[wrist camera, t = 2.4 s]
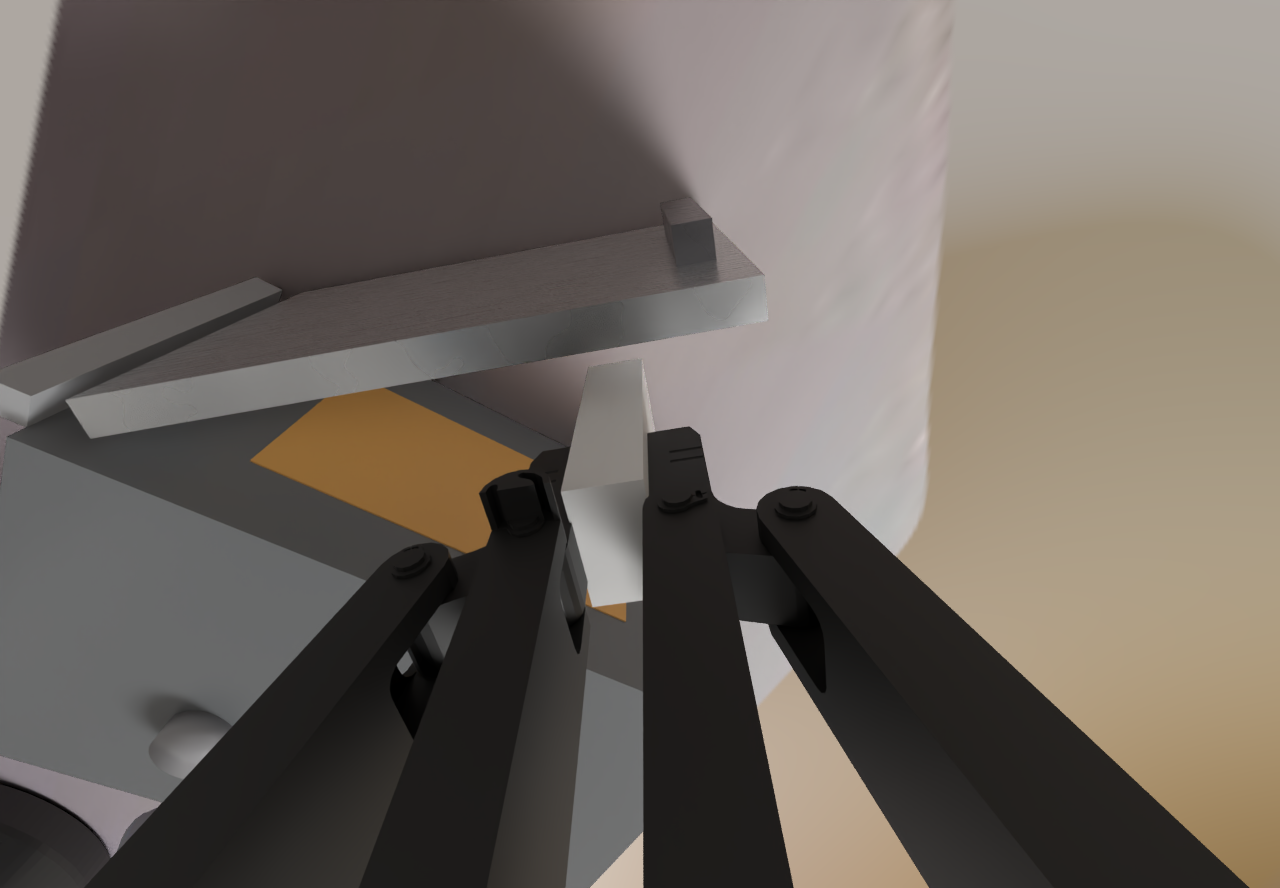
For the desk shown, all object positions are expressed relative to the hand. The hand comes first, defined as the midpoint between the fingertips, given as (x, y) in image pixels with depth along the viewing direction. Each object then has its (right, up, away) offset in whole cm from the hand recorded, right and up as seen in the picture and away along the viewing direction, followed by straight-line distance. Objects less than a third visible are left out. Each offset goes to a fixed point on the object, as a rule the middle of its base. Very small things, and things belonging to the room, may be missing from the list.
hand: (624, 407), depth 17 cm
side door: (-5, +6, +6) cm, 10 cm away
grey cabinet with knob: (-8, -5, +12) cm, 15 cm away
